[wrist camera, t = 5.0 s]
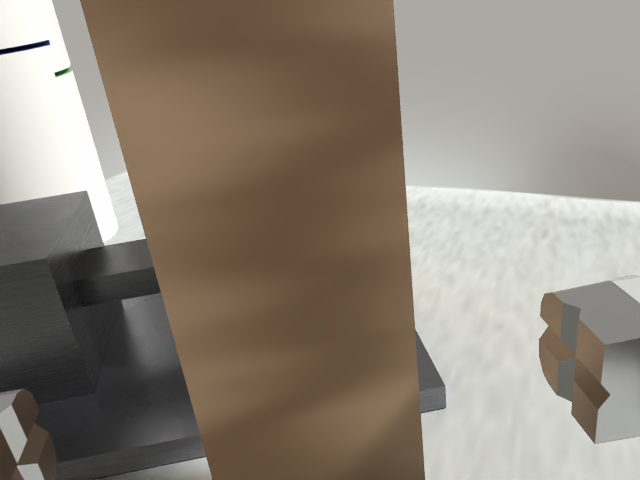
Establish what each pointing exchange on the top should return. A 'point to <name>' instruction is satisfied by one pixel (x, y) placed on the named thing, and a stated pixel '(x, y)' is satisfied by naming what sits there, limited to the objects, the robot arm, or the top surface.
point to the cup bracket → (101, 343)
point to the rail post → (275, 224)
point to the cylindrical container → (44, 115)
